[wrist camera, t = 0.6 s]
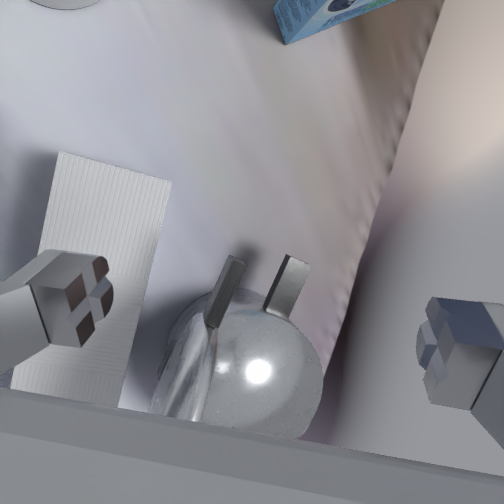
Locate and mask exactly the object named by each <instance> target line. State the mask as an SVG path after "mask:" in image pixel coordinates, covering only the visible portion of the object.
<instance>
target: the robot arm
mask: <svg viewBox="0 0 504 504" xmlns="http://www.w3.org/2000/svg"><path fill="white" fill-rule="evenodd" d="M31 1H33V2H36V3H38V4H41V5H43V6H47V7H51V8H56V9H78V8H82V7H86V6H89V5H91V4H93V3H95V2H97V1H99V0H31ZM109 271H110V270H109V266H108V262H107V259H105V258H104V257H103V256H99V255H92V254H85V253H78V252H71V251H64V250H55V249H48V250H44V251H43V252H42V253H40V254H39V255H38V256H37V257H35V258H34V259H33V260H31V261H30V262H29V263H27V264H26V265H25V266H23V267H22V268H21V269H20V270H18V271H17V272H16V273H14V274H13V275H12V276H10V277H9V278H8V279H6V280H5V281H4V282H3V281H0V375H2V374H3V373H5V372H7V371H8V370H10V369H12V368H13V367H15V366H17V365H18V364H20V363H22V362H23V361H25V360H27V359H28V358H30V357H32V356H33V355H35V354H36V353H38V352H40V351H41V350H43V349H45V348H46V347H48V346H49V344H53V345H61V346H69V347H77V348H82V346H83V345H84V344H85V343H86V341H87V340H88V339H89V337H90V336H91V335H92V334H93V332H94V331H95V324H94V323H96V322H98V321H100V320H102V319H104V318H105V317H106V315H107V314H108V313H109V311H110V309H111V306H112V303H113V299H114V290H113V285H112V283H111V282H110V281H109V280H108V279H107V278H106V275H107V274H108V272H109ZM425 311H426V314H427V317H428V320H427V321H426V322H424V323H423V324H421V325H420V327H419V331H418V334H417V342H416V353H417V359H418V362H419V365H420V366H422V367H423V368H424V369H425V370H426V373H425V376H424V378H423V380H424V384H425V387H426V391H427V394H428V398H429V402H430V403H431V404H437V405H442V406H447V407H453V408H458V409H463V410H470V411H471V414H472V415H473V416H474V417H475V418H476V419H477V420H478V421H479V422H480V424H481V425H482V426H483V427H484V428H485V429H486V430H487V431H488V433H489V434H490V435H491V436H492V437H493V438H494V439H495V440H496V441H497V442H498V444H499V445H500V446H501V447H502V448H503V449H504V305H503V304H499V303H489V302H479V301H478V302H474V301H465V300H456V299H455V300H454V299H446V298H437V297H432V298H431V299H430V300H429V302H428V305H427V307H426V310H425ZM0 504H504V477H503V476H498V475H492V474H487V473H481V472H475V471H470V470H464V469H458V468H453V467H447V466H442V465H436V464H430V463H425V462H419V461H413V460H407V459H402V458H397V457H391V456H385V455H380V454H374V453H369V452H363V451H358V450H352V449H346V448H341V447H335V446H330V445H324V444H318V443H313V442H307V441H302V440H296V439H291V438H285V437H280V436H274V435H268V434H263V433H257V432H252V431H246V430H240V429H235V428H229V427H224V426H218V425H212V424H207V423H201V422H195V421H190V420H184V419H179V418H173V417H167V416H162V415H156V414H151V413H145V412H139V411H134V410H128V409H122V408H117V407H111V406H106V405H100V404H94V403H89V402H83V401H78V400H72V399H66V398H61V397H55V396H50V395H44V394H38V393H33V392H27V391H22V390H16V389H10V388H5V387H0Z"/></svg>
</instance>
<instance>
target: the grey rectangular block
mask: <svg viewBox="0 0 504 504" xmlns="http://www.w3.org/2000/svg"><path fill="white" fill-rule="evenodd" d="M171 184H172V182H171V181H167V180H164V179H160V178H156V177H153V176H149V175H145V174H142V173H138V172H135V171H131V170H127V169H124V168H120V167H117V166H113V165H109V164H106V163H102V162H98V161H95V160H91V159H88V158H84V157H80V156H77V155H73V154H69V153H66V152H62V151H59V152H58V157H57V162H56V167H55V171H54V176H53V181H52V186H51V191H50V196H49V201H48V206H47V210H46V215H45V220H44V225H43V230H42V235H41V240H40V245H39V249H38V254H37V256H38V255H39V254H40V253H42V252H43V251H44V250H48V249H55V250H64V251H71V252H78V253H85V254H92V255H99V256H103V257H104V258H105V259H107V262H108V266H109V270H110V271H109V272H108V274H107V275H106V278H107V279H108V280H109V281H110V282H111V283H112V285H113V290H114V299H113V303H112V306H111V309H110V311H109V313H108V314H107V315H106V317H105V318H104V319H102V320H100V321H98V322H96V323H94V324H95V331H94V332H93V334H92V335H91V336H90V337H89V339H88V340H87V341H86V343H85V344H84V345H83V346H82V348H77V347H69V346H61V345H53V344H49V346H48V347H46V348H45V349H43V350H41V351H40V352H38V353H36V354H35V355H33V356H32V357H30V358H28V359H27V360H25V361H23V362H22V363H20V364H18V365H17V366H15V367H14V371H13V376H12V381H11V386H10V389H16V390H22V391H27V392H33V393H38V394H44V395H50V396H55V397H61V398H66V399H72V400H78V401H83V402H89V403H94V404H100V405H106V406H111V407H117V406H118V402H119V398H120V394H121V390H122V386H123V382H124V378H125V373H126V369H127V365H128V361H129V357H130V353H131V349H132V345H133V340H134V336H135V332H136V328H137V324H138V320H139V316H140V312H141V307H142V303H143V299H144V295H145V291H146V287H147V283H148V279H149V274H150V270H151V266H152V262H153V258H154V254H155V250H156V246H157V241H158V237H159V233H160V229H161V225H162V221H163V217H164V213H165V208H166V204H167V200H168V196H169V192H170V188H171Z"/></svg>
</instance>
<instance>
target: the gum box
mask: <svg viewBox="0 0 504 504" xmlns="http://www.w3.org/2000/svg"><path fill="white" fill-rule="evenodd" d="M394 1H397V0H278V1H277V2H276V4H275V5H274V6H273V11H274V14H275V17H276V19H277V22H278V25H279V28H280V31H281V33H282V36H283V39H284V42H285V45H287V44H290V43H292V42H295V41H298V40H300V39H303V38H305V37H308V36H310V35H313V34H315V33H317V32H320V31H323V30H325V29H327V28H330V27H332V26H334V25H337V24H339V23H342V22H344V21H347V20H349V19H351V18H354V17H357V16H359V15H362V14H364V13H367V12H369V11H372V10H374V9H377V8H379V7H382V6H384V5H387V4H389V3H392V2H394Z"/></svg>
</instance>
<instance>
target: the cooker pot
mask: <svg viewBox="0 0 504 504" xmlns="http://www.w3.org/2000/svg"><path fill="white" fill-rule="evenodd" d="M311 268H312V266H311V265H309V264H307V263H305V262H303V261H301V260H298V259H296V258H294V257H291V256H289V255H287V254H286V256H285V258H284V260H283V262H282V264H281V266H280V269H279V271H278V273H277V275H276V277H275V280H274V282H273V284H272V286H271V288H270V291H269V293H268V295H267V297H265V296H263V295H261V294H259V293H257V292H254V291H251V290H248V289H242V288H236V291H235V293H234V295H233V297H232V299H231V302H230V304H229V306H228V308H227V311H226V313H225V315H224V317H223V319H222V322H221V324H220V326H219V328H218V345H217V354H216V361H215V367H214V373H213V378H212V382H211V387H210V391H209V395H208V399H207V403H206V407H205V411H204V414H203V418H202V421H201V423H207V424H212V425H218V426H224V427H229V428H235V429H240V430H246V431H252V432H257V433H263V434H268V435H274V436H280V437H285V438H291V439H296V438H297V437H298V436H299V435H300V434H301V433H302V432H303V431H304V430H305V429H306V427H307V426H308V424H309V423H310V421H311V420H312V418H313V416H314V414H315V413H316V410H317V408H318V405H319V402H320V399H321V395H322V388H323V373H322V366H321V363H320V359H319V357H318V354H317V352H316V350H315V348H314V347H313V345H312V344H311V342H310V341H309V340H308V339H307V338H306V337H305V336H304V334H303V333H302V332H301V331H300V330H299V329H298V328H297V327H296V326H295V325H294V324H293V323H292V322H291V321H290V320H289V319H288V317H289V315H290V313H291V311H292V309H293V307H294V304H295V302H296V300H297V298H298V296H299V294H300V292H301V289H302V287H303V285H304V283H305V281H306V279H307V276H308V274H309V272H310V270H311ZM211 294H212V292H211V293H208V294H206V295H204V296H202V297H200V298H198V299H197V300H195V301H194V302H193V303H191V304H190V305H189V306H188V307H187V308H186V309H185V310H184V311H183V312H182V313H181V314H180V316H179V317H178V319H177V320H176V322H175V324H174V326H173V328H172V330H171V333H170V335H169V339H168V344H167V351H166V353H165V355H164V358H163V360H162V362H161V364H160V367H159V369H158V380H160V378H161V375H162V373H163V371H164V368H165V366H166V364H167V362H168V360H169V357H170V355H171V353H172V351H173V349H174V347H175V345H176V343H177V341H178V339H179V337H180V336H181V334H182V332H183V330H184V329H185V327H186V326H187V324H188V323H189V321H190V320H191V319H192V318H193V317H194V316H195V315H196V314H197V313H202V314H203V312H204V310H205V308H206V305H207V303H208V301H209V299H210V296H211Z"/></svg>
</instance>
